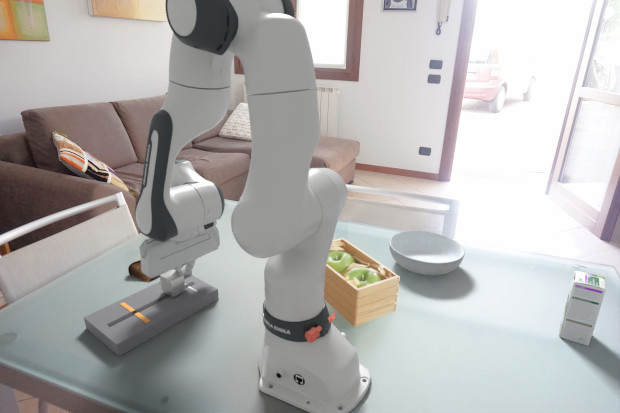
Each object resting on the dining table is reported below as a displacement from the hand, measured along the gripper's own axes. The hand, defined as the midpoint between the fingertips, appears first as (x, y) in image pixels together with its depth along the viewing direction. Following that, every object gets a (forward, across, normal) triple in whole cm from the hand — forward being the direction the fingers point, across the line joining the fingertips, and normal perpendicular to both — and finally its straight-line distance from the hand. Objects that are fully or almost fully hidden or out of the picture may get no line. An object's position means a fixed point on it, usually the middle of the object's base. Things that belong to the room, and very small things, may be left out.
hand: (185, 277), depth 101 cm
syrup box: (+6, +46, -78) cm, 91 cm away
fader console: (+6, -9, 0) cm, 10 cm away
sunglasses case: (+6, +5, +18) cm, 20 cm away
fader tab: (+2, -4, 0) cm, 4 cm away
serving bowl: (+6, +54, -39) cm, 67 cm away
